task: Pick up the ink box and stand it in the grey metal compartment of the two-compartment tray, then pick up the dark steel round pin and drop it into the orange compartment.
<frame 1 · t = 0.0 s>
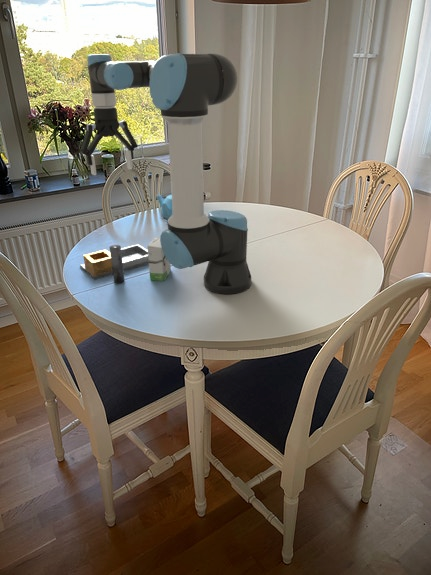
hand: (112, 171, 157), 28 cm above the table, fingers open, 13 cm apart
teapot: (176, 216, 200), on the table
two-compartment tray: (118, 264, 155), on the table
ink box: (160, 275, 147), on the table
round pin: (119, 281, 143), on the table
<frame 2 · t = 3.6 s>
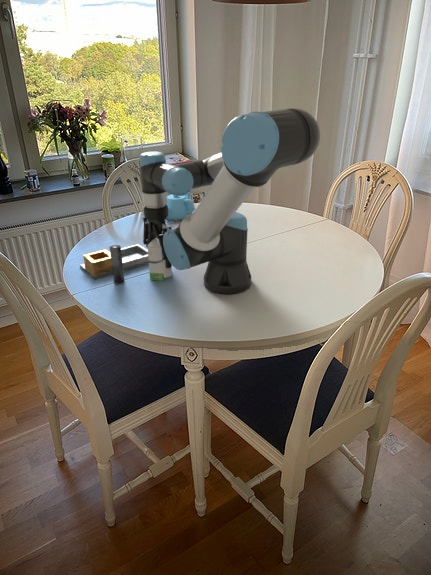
hand: (160, 271, 147), 1 cm above the table, fingers closed on ink box, 9 cm apart
ink box: (160, 275, 147), on the table, touching gripper
everything else where it was.
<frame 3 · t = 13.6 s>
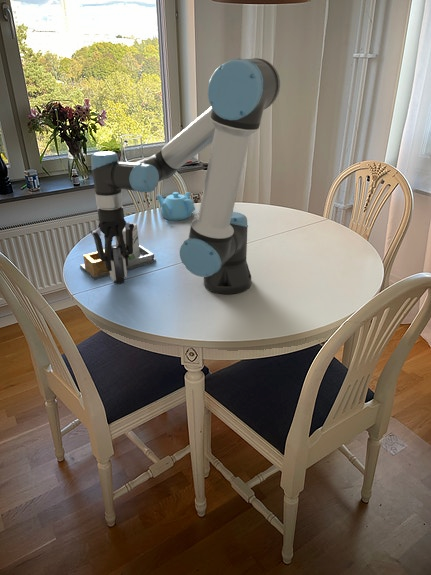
hand: (118, 277, 143), 2 cm above the table, fingers closed on round pin, 3 cm apart
ink box: (129, 258, 157), point 1 cm above the table, touching two-compartment tray
round pin: (119, 281, 143), on the table, touching gripper
everything else where it was.
when the fingers open (7 cm above the table, at t = 18.1 s): round pin drops 4 cm, resting on two-compartment tray.
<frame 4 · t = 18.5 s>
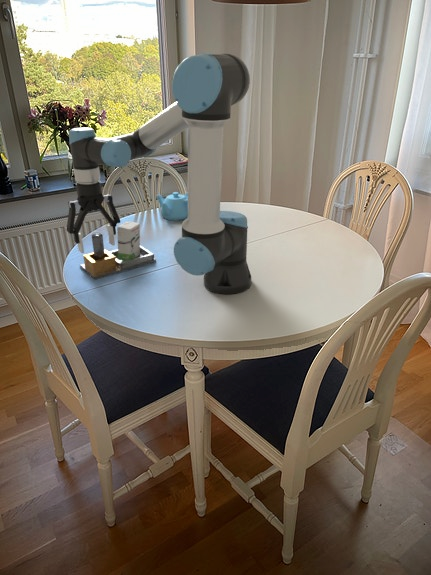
hand: (97, 247, 148), 8 cm above the table, fingers open, 10 cm apart
ink box: (129, 257, 157), point 1 cm above the table, touching gripper, two-compartment tray
round pin: (100, 265, 151), point 1 cm above the table, tilted 12°, touching two-compartment tray
everything else where it was.
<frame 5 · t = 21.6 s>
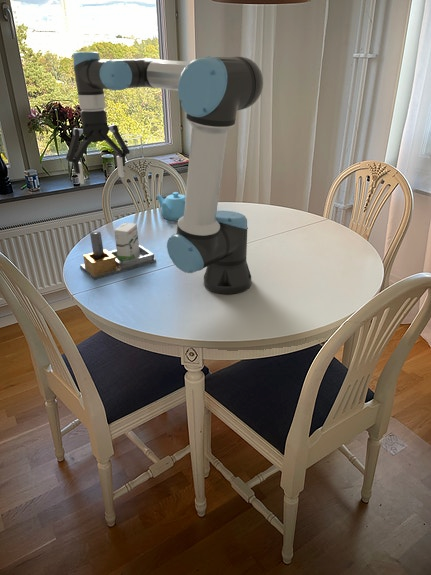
hand: (102, 180, 144), 29 cm above the table, fingers open, 13 cm apart
ink box: (129, 258, 157), point 1 cm above the table, touching two-compartment tray
round pin: (100, 266, 151), point 1 cm above the table, touching two-compartment tray
everything else where it was.
at the end: ink box inside the target area (0.4 cm from its centre), point 0.8 cm above the table; ink box tilted 0°; round pin 0.0 cm from the target spot, point 1.0 cm above the table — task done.
